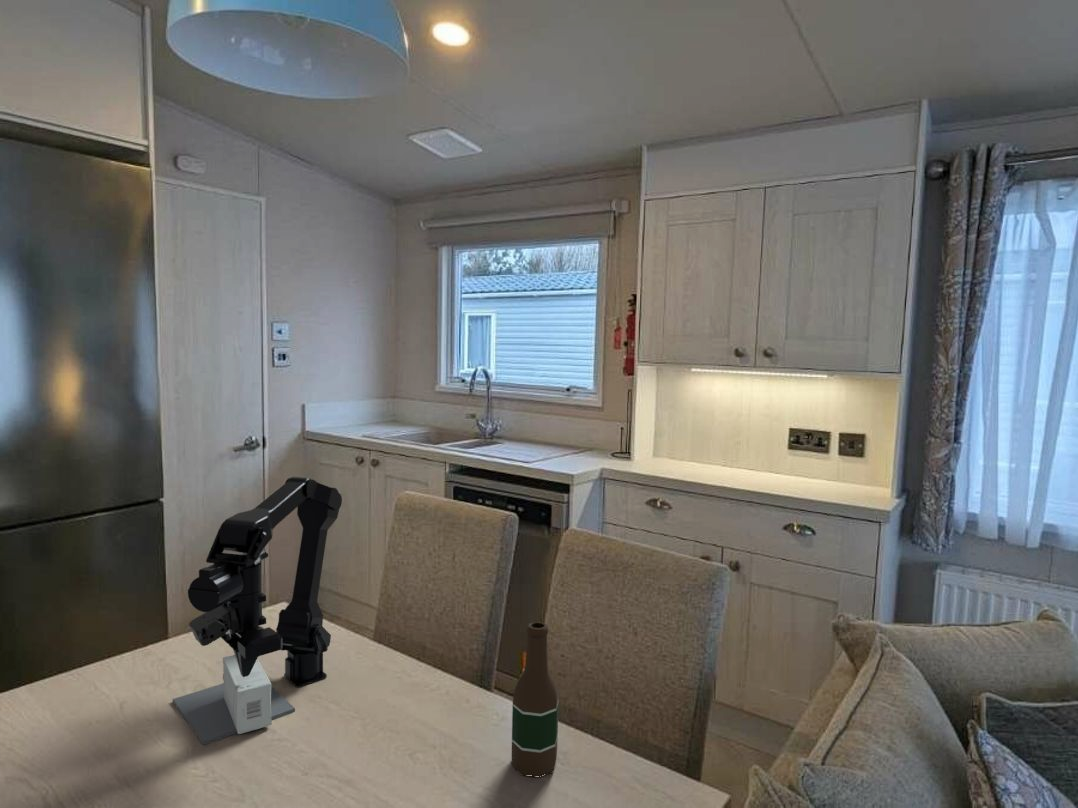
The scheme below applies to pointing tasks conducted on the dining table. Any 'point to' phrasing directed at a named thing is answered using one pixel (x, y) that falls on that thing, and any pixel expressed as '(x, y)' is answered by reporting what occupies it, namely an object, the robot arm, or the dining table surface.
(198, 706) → the mat
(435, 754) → the dining table surface
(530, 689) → the beer bottle
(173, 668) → the dining table surface
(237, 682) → the skincare box
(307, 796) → the dining table surface
